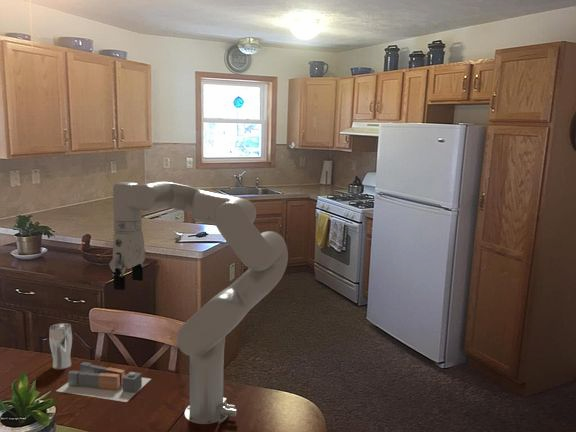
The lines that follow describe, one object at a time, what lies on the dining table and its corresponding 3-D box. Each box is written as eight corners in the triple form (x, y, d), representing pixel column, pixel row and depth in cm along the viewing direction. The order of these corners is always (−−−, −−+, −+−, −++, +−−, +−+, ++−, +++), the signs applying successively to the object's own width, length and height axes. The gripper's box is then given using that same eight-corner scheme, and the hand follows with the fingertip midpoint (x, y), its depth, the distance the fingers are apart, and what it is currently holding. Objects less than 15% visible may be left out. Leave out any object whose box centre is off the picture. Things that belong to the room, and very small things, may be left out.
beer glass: (64, 374, 164) (62, 331, 162) (46, 372, 165) (44, 329, 163) (77, 365, 171) (76, 324, 168) (59, 363, 172) (57, 322, 170)
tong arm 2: (125, 382, 156) (125, 370, 156) (121, 385, 155) (121, 372, 154) (84, 373, 161) (83, 361, 161) (80, 376, 160) (79, 364, 159)
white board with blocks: (151, 382, 160) (151, 364, 159) (126, 405, 146) (126, 386, 145) (85, 372, 165) (85, 355, 164) (55, 394, 151) (55, 375, 150)
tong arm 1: (119, 386, 154) (119, 374, 153) (117, 389, 152) (116, 377, 151) (71, 382, 155) (71, 370, 155) (68, 385, 154) (67, 372, 153)
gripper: (123, 232, 130) (124, 294, 132) (154, 222, 147) (155, 278, 149) (97, 230, 132) (99, 292, 134) (131, 220, 148) (132, 275, 151)
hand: (128, 284), depth 142 cm, fingers open, 9 cm apart
